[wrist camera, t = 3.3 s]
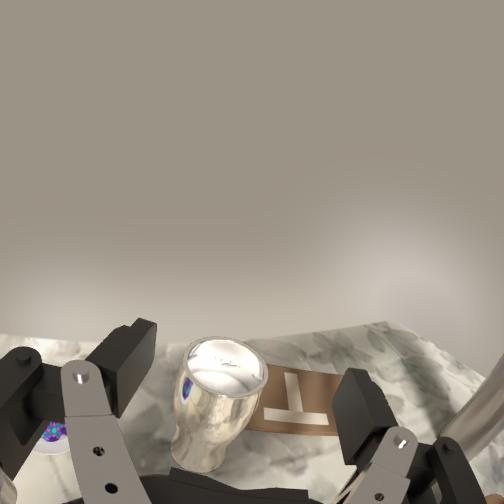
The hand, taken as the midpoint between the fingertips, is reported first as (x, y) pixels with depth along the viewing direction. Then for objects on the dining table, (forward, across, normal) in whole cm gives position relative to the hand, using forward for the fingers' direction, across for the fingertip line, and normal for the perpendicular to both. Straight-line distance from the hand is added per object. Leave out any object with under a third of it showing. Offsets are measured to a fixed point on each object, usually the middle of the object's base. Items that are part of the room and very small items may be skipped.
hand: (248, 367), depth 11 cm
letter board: (+22, -10, +20) cm, 31 cm away
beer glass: (+10, +2, +21) cm, 24 cm away
